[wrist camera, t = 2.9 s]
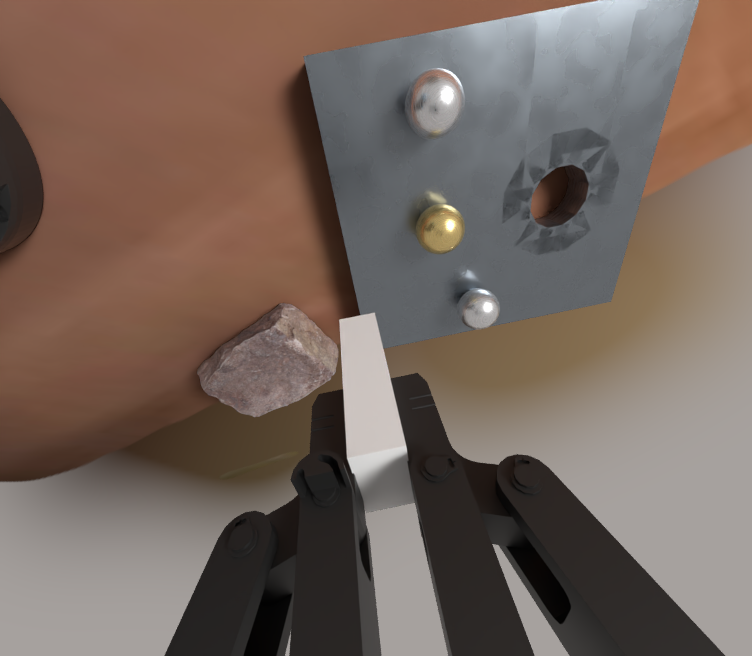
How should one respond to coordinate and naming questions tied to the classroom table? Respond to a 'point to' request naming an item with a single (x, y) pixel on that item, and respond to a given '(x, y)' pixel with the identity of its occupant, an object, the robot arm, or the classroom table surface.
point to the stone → (270, 363)
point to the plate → (499, 158)
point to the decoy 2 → (478, 308)
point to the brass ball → (440, 229)
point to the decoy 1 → (434, 103)
